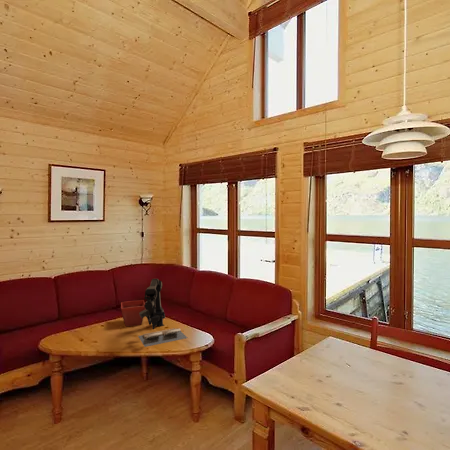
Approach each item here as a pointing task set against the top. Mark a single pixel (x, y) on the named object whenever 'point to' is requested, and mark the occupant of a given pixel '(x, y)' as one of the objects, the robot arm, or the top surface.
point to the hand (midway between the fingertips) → (151, 327)
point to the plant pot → (132, 312)
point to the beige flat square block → (172, 332)
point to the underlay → (162, 339)
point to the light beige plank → (153, 335)
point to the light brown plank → (157, 332)
